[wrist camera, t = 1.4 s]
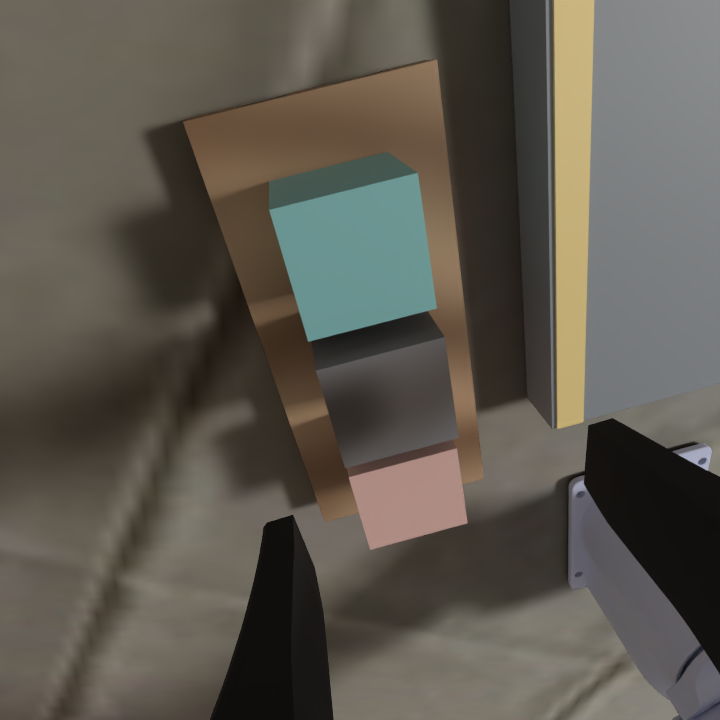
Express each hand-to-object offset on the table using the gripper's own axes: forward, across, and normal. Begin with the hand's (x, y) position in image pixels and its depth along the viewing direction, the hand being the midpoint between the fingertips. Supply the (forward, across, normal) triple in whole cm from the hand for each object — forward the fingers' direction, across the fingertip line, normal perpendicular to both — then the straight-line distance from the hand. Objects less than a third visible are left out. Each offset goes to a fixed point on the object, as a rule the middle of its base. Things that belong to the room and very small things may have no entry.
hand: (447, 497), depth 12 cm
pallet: (+11, 0, +1) cm, 11 cm away
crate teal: (+9, 0, -4) cm, 10 cm away
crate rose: (+9, 0, +6) cm, 11 cm away
